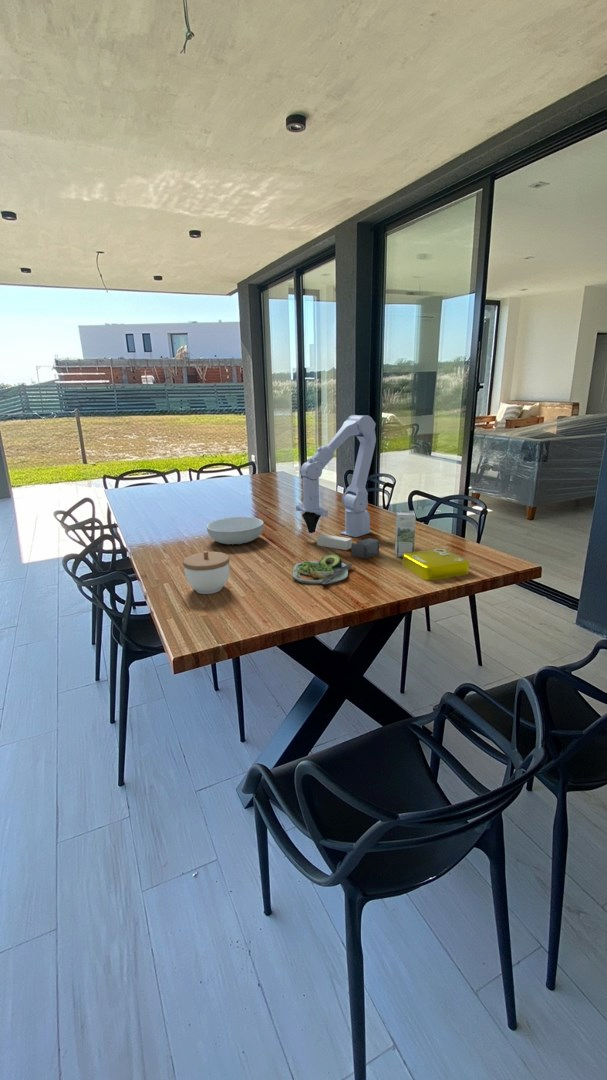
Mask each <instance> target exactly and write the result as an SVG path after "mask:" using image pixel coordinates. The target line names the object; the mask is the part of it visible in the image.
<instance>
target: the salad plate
mask: <svg viewBox="0 0 607 1080" xmlns="http://www.w3.org/2000/svg"><path fill="white" fill-rule="evenodd" d="M352 566H353V563H344V562H342V559H341V557H340V556H339V555H337V554H327V555H324V556H323V557H322V558H321V559H320V560H319V561H308V560H306V561H301V562H298V563H296V564H295V565H294V566H293V568H292V578H293V579H294V580H296V581H298V582H299V583H302V584H306V585H328V584H329V585H330V584H334V583H338V582H341V581H343V580H346V579H347V577H348V576H349V575H348V574H349V571H348V570H349V569H350V568H352ZM301 575H302V576H303V575H305V576H310V577H312V579H304V578H303V577H301Z"/></svg>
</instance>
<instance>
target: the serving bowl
mask: <svg viewBox="0 0 607 1080" xmlns="http://www.w3.org/2000/svg"><path fill="white" fill-rule="evenodd" d="M263 529H264V521H263V519H260V518H257V517H253V516H252V517H251V516H232V517H224V518H220V519H217V520H213V521H210V522H209V523H207V525H206V531H207V533H208V535H209V537H210V538H211V539H212V540H213V541H215V542H217V543H220V544H224V545H230V544H232V546H233V544H238V545H242V544H243V543H244V544H246V543H250V542H252V541H254V540H255V539H258V538H259V536H260V535H261V534H262V532H263ZM244 544H243V545H244Z"/></svg>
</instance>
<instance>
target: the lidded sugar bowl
mask: <svg viewBox="0 0 607 1080" xmlns="http://www.w3.org/2000/svg"><path fill="white" fill-rule="evenodd" d="M182 565H183V570H184V571H183V572H184V574H185V575H184V576H185V580H186V581H187V584H188V585H189V586H190V587H191V588H192V589H193V590H195V592H196V593H197V594H201V595H211V594H216V593H219V592H220V591H222V589H223V587H224V586H225V585H226V583H228V580H229V576H230V556H229V555H228V554H227V553H226V552H225V553H224V552H221V551H207V550H205V551H201V552H196V553H192V554H190V555H188V556H186V557H184V558H183V560H182Z"/></svg>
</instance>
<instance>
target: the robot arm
mask: <svg viewBox="0 0 607 1080" xmlns="http://www.w3.org/2000/svg"><path fill="white" fill-rule="evenodd" d="M376 425H377V423H376V422H375V421H374V419H373V418H372V417H371V416H370V415H360V414H359V415H357V414H352V415H349V416H348V418H347V419H346V420H344V421H343V423H342V425H341V427H340V428H339V430H338V431H337V432H336V434H335V435H334V436H332V438H331V439H330V441H329V442H328V443H327V444H326V445H322V446H318V447H317V449H316V450H317V451H316V452H315V453H314V454H313V455H312V456H311V457H309V458H308V461H305V462H304V463H303V464H302V465H301V468H300V470H299V474H300V476H301V477H302V496H303V497H302V499H303V504H297V505H295V511H296V512H304V513H301V517H302V518H303V519H304V522H305V524H306V528H307V531H308V533H309V534H314V533H316V528H317V525H318V523H319V521H320V518H321V517H328V515H329V510H327V509H324V508H322V507H320V479H319V478H321V476H322V474H323V469H324V468H326V466H327V465H328V464H329V463H330V462H331V461H332V460H333V459H334V457H335V451H336V450H338V448H339V447H341V446H342V444H344V442H345V441H347V439H348V438H350V437H352V436H353V437H354V436H355V437H356V438H357V440H358V441H359V447H358V452H357V456H356V461H355V465H354V469H353V474H352V479H351V481H350V482H351V483H350V485H349V486H347V487H346V488H345V489H346V490H345V492H344V494H343V495H342V497H341V504H342V506H343V507H344V518H345V519H344V523H345V525H344V527H345V528H344V529H345V530H344V531H341V532H340V535H345V536H349V537H353V538H358V537H361V536H364V535H367V534H371V533H372V530H370V529H371V526H370V521H371V515H370V513H369V511H368V510H367V507H368V505H369V501H368V495H369V493H368V490H367V488H366V485H367V483H368V482H367V481H368V478H369V477H368V476H369V473H370V469H371V464H372V460H373V456H374V452H375V447H376V443H377V437H376V430H375V429H376Z"/></svg>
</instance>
